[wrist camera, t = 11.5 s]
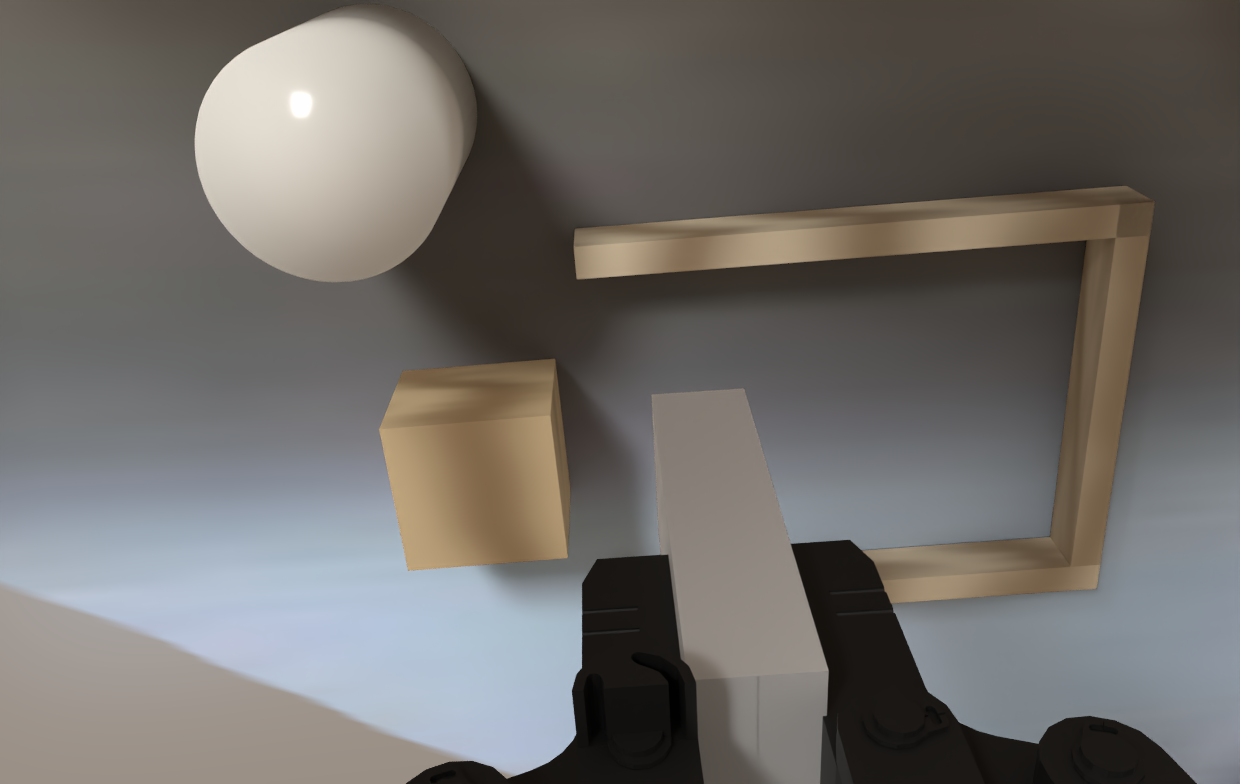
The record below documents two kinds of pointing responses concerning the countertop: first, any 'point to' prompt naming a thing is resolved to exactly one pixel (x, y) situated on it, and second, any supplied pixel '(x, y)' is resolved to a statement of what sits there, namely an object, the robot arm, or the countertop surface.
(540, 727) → the countertop surface
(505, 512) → the oak block
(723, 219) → the wooden l-shaped bracket
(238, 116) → the white rounded capsule
